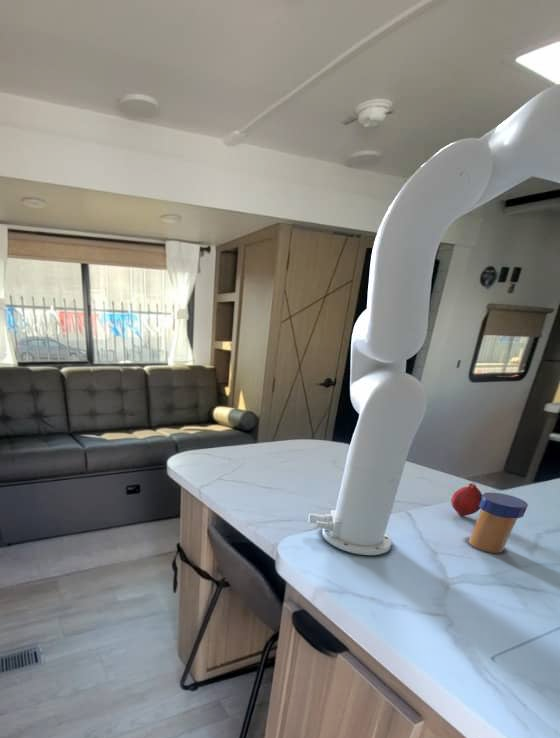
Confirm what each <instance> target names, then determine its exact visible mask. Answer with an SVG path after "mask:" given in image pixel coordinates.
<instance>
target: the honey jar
mask: <svg viewBox="0 0 560 738" xmlns="http://www.w3.org/2000/svg"><path fill="white" fill-rule="evenodd" d="M517 520H518V518H506V517H501V516H496V515H493V514H490V513H488V512H486V511H484V510H482V509H481V508H480V510H479V514H478V516H477V519H476V522H475V524H474V527H473V529H472V531H471V534H470V537H469V538H468V543H469V544H470V545H471V546H472V547H474V548H475V549H478V550H480V551H483V552H486V553H491V554H500V553H502V552H503V551H504V550H505V548H506V545H507V543H508V540H509V538H510V536H511V534H512V532H513V529H514V527H515V525H516V522H517Z"/></svg>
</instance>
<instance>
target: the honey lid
mask: <svg viewBox="0 0 560 738" xmlns="http://www.w3.org/2000/svg"><path fill="white" fill-rule="evenodd" d="M528 506H529V504H528V502H527V501H525V500H523V499H521V498H519V497H516V496H515V495H510V494H506V493H500V492H484V493H482V498H481V500H480V503H479V507H480V510H481V509H482V510H484V511H486V512H488V513H490V514H493V515H496V516H501V517H506V518H517V519H521V518H523V517H524V515H525V513H526V511H527V508H528Z"/></svg>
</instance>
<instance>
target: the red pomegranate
mask: <svg viewBox="0 0 560 738" xmlns="http://www.w3.org/2000/svg"><path fill="white" fill-rule="evenodd" d="M482 495H483V493H482V491H480V489H479V488H478V487H477V485H476V484H475V483H474V482H470V483H468V485H466V486H463V487H461V488H459V489H457V490H456V491H455V492H454V493H453V494H452V496H451V499H450V504H451V507H452V509H453V510H455V512H456V513H457V515H458V516H460V517H466V516H470V515H473V514H475V513H477V512H478V511H481V508H480V507H479V503H480V500H481V498H482Z"/></svg>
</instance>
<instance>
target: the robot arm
mask: <svg viewBox="0 0 560 738" xmlns="http://www.w3.org/2000/svg"><path fill="white" fill-rule="evenodd" d="M531 178H537V179H543V180H546V181H550V182H554V183H558V184H560V83H559V84H555V85H551V86H550V87H547V88H546V89H544V90H542V91H541V92H539V93H538V94H536V95H535V96H533V97H532V98H531V99H529V100H528V101H527V102H525V104H523V105H522V106H520V108H518V109H517V110H516V111H514V112H513V113H512V114H511V115H510V116H509V117H507V119H505V120H503V122H501V123H500V124H499V125H496V126H495V127H494V128H493V129H491V130H490V131H488V132H487V133H484V135H482V136H481V137H479V138H476V137H467V138H462V139H459V140H456V141H454V142H452V143H450V144H448V145H446V146H445V147H443V148H441V149H440V150H439V151H438V152H436V153H435V154H433V155H432V156H431V157H430V158H429V159H427V161H425V162H424V163H423V164H422V165H421V166H420V167H419V168H418V169H417V170H416V171H415V172H414V173H413V174H412V175H411V176H410V177H409V178H408V179H407V181H406V182H405V183H404V185H403V186H402V187H401V188H400V190H399V192H398V193H397V194H396V196H395V197H394V199H393V201H391V203H390V206H389V207H388V209H387V210H386V212H385V214H384V216H383V218H382V221H381V222H380V225H379V227H378V230H377V233H376V236H375V239H374V241H373V247H372V252H371V256H370V257H371V258H370V265H369V276H368V286H367V287H368V288H367V301H366V302H367V303H366V309H364V310H363V311H362V312H361V314H360V315H359V316H358V318H357V320H356V322H355V323H354V326H353V330H352V334H351V340H350V341H351V344H350V368H349V370H350V372H349V373H350V375H349V379H350V380H349V397H350V402H351V404H352V407H353V409H354V410H355V411H356V412H357V414H358V419H357V422H356V425H355V428H354V431H353V433H352V437H351V441H350V444H349V448H348V452H347V456H346V460H345V465H344V471H343V475H342V480H341V483H340V488H339V493H338V498H337V502H336V506H335V509H331V510H330V513H326V514H325V515H322V514H317V513H309V514H308V518H307V519H308V520H307V522H308V524H314V525H315V529H321V530H322V533H321V534H322V536H323V538H324V539H325V541H327V542H328V543H329V544H330V545H331V546H333V547H335V548H337V549H339V550H342V551H345V552H348V553H351V554H356V555H362V556H378V555H382V554H383V555H384V554H385V553H387V552H389V551H390V549H391V547H392V542H393V541H392V538H391V537H390V536H389V534H387V532H386V531H387V527H388V524H389V520H390V517H391V513H392V510H393V506H394V503H395V500H396V496H397V493H398V490H399V486H400V483H401V480H402V475H403V473H404V469H405V465H406V462H407V460H408V459H407V458H408V455H409V452H410V450H411V446H412V444H413V441H414V439H415V437H416V434H417V432H418V430H419V428H420V426H421V424H422V422H423V419H424V417H425V414H426V411H427V404H428V403H427V401H428V399H427V392H426V390H425V388H424V386H423V384H422V383H421V382H420V380H418V379H417V378H416V377H415V376H414V375H412V374H409V373H407V371H406V370H407V360H409V359H411V358H413V357H414V356H415V355H416V354H417V353H418V352H419V351H420V350H421V348H422V347H423V345H424V343H425V341H426V338H427V334H428V328H429V315H430V313H429V312H430V301H431V291H432V279H433V273H434V267H435V261H436V256H437V253H438V249H439V246H440V244H441V242H442V240H443V238H444V236H445V234H446V233H447V231H448V229H449V228H450V227H451V226H452V224H454V222H455V221H456V220H457V219H459V218H460V217H462V216H464V215H466V214H469V213H470V212H472V211H473V210H475V209H477V208H479V207H481V206H483V205H485V204H486V203H488V202H489V201H492V200H493V199H495V198H496V197H499V196H500V195H502V194H503V193H505V192H507V191H509V190H511V189H513V188H514V187H515V186H517V185H519V184H521V183H523V182H525V181H527V180H529V179H531Z"/></svg>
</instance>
